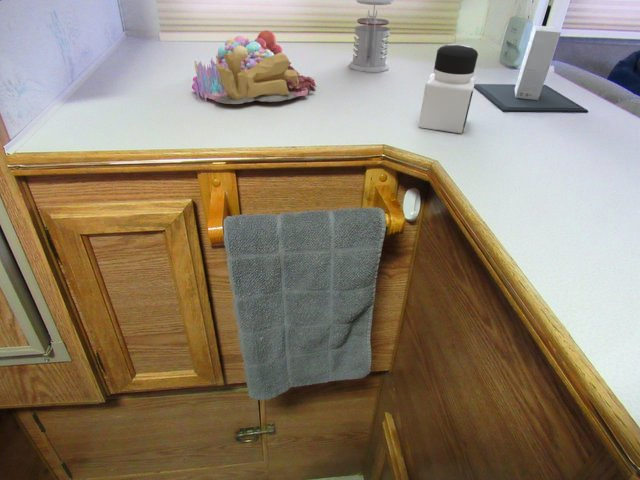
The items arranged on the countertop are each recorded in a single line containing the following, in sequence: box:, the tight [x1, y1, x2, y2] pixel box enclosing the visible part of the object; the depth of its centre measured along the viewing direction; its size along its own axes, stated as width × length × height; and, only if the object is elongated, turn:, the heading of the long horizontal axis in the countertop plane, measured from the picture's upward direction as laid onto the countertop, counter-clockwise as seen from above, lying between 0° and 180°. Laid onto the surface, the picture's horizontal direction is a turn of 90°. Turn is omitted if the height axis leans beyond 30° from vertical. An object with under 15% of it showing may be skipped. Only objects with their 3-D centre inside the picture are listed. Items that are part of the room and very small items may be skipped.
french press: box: [348, 0, 395, 73], centre depth 92 cm, size 10×12×25 cm
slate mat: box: [474, 83, 589, 114], centre depth 83 cm, size 16×16×1 cm
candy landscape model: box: [191, 29, 317, 105], centre depth 81 cm, size 25×24×9 cm
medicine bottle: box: [418, 44, 479, 135], centre depth 67 cm, size 7×7×12 cm
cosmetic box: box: [515, 24, 562, 100], centre depth 80 cm, size 6×4×12 cm
